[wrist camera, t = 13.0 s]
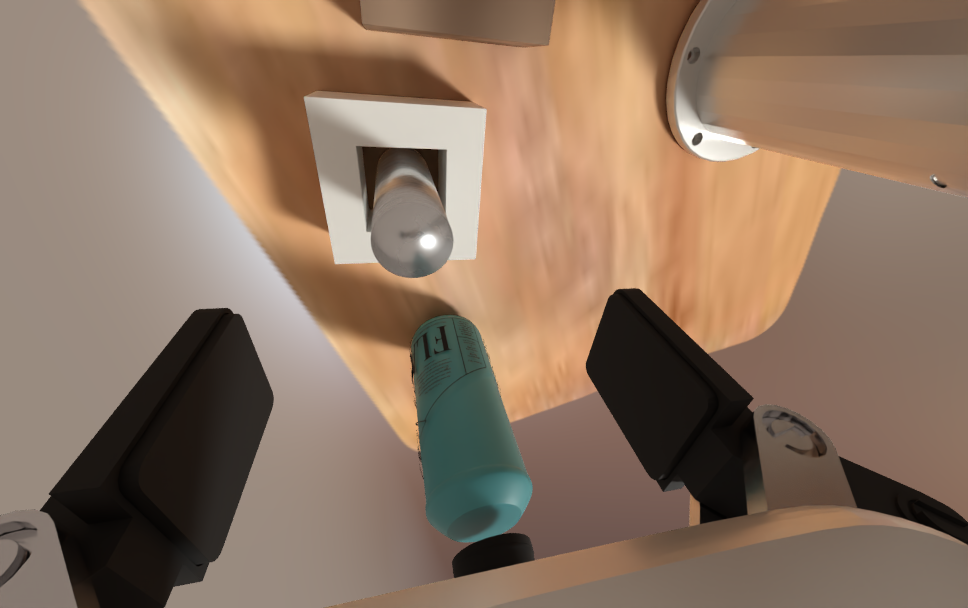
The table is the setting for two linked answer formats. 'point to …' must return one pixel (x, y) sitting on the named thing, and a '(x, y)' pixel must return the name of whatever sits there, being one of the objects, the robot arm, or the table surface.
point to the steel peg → (408, 216)
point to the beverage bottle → (468, 448)
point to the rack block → (397, 124)
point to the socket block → (464, 19)
